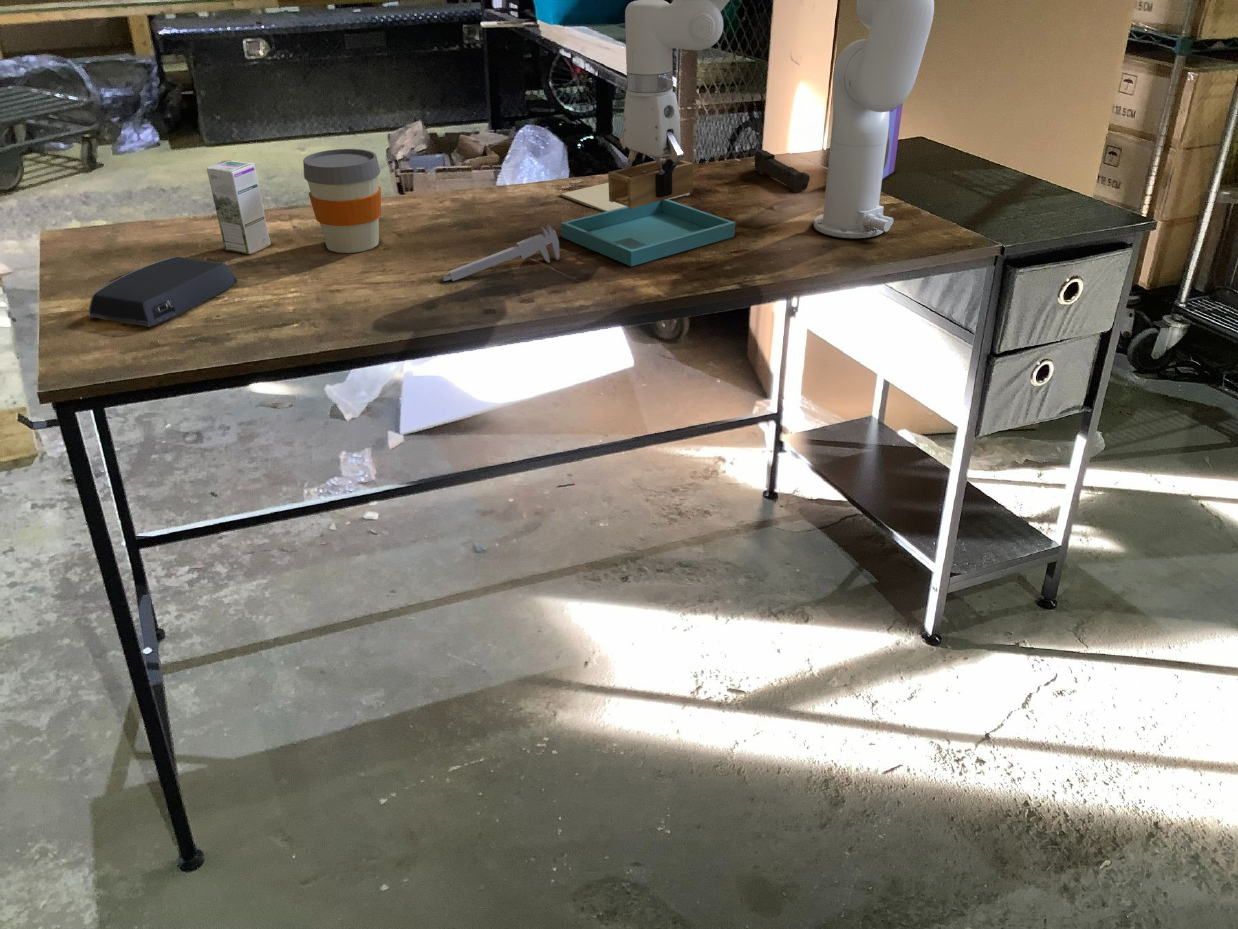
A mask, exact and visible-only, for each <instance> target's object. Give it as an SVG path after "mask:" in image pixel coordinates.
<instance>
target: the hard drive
mask: <svg viewBox="0 0 1238 929" xmlns="http://www.w3.org/2000/svg"><path fill="white" fill-rule="evenodd" d="M238 281H239V280H238V279H237V277H236V275H235V274H234V273H233V271H232V270H231V268H230V267H229V266H228V265H227V264H226V263H223V262H215V261H208V260H201V259H196V258H195V259H194V258H189V257H182V256H177V255H176V256H172V257H167V258H165V259H162V260H159V261H156V262H153V263H149V264H148V265H145V266H142V267H140V268H138V269H135V270H133V271H131V272H128V273H126V274H124V275H122V276H121V277H119V278H117V279H114V280H113V281H111V282H109V283H108V284H106V285H104V286H103V287H101V288H99V289H98V290H97V291H95V292H94V293H93V294H92V296H91V298H90V302H89V308H88V317H90V318H95V319H100V320H106V321H113V322H119V323H124V324H129V325H135V326H140V327H146V328H151V327H154V326H157V325H159V324H162V323H163V322H166V321H168V320H171V319H172V318H174V317H177V316H180V315H181V314H183V313H185V312H187V311H190V310H192V309H193V308H196V307H198V306H199V305H201V304H203V303H205V302H207V301H208V300H210V299H212V298H214V297H215V296H218V295H220V294H221V293H223V292H225V291H226V290H228V289H229V288H231V287H232V286H235V285H236V284H237V283H238Z"/></svg>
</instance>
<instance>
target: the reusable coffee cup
mask: <svg viewBox="0 0 1238 929" xmlns="http://www.w3.org/2000/svg"><path fill="white" fill-rule="evenodd" d="M302 165H303V178H304V180H305V181H307V184H308V188H309V193H308V196H309V200H310V203H311V204H310V205H311V208H312V209H313V214H314V218H315V220H316V221H317V222H318V223H319V226H320V229H321V233H322V236H323V239H324V242H325V246H326V249H328V250H329V251H331V252H335V253H342V254H352V253H360V252H365V251H368V250H372V249H374V248H375V247H377V246H378V245H379V243H380V242H379V241H380V240H379V239H380V237H379V233H380V232H379V230H380V229H379V228H380V227H379V225H380V224H379V221H380V220H379V219H380V217H381V215H382V189H381V186H379V176H380V174H381V170H380V169H381V168H380V165H379V161H378V156H377V154H376V153H375V152H374V151H371V150H368V149H360V148H337V149H336V148H335V149H328V150H322V151H319V152H318V151H317V152H313V153H311V154H308V155H307V156H305V157H304V158H303V161H302Z"/></svg>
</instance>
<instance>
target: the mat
mask: <svg viewBox="0 0 1238 929" xmlns="http://www.w3.org/2000/svg"><path fill="white" fill-rule="evenodd" d="M690 194H691V192H690V193H687V194H683V195H680V196H676V197H672V198H669V199H668V200H672V199H677V198H680V197H684V196H690ZM560 196H561V197H563V198H565V199H568V200H570V201H573V202H576V203H578V204H582V205H584V206H587V207H589V208H594V209H595V210H598V211H602V212H607V211H611V210H615V209H619V208H623V207H627V206H625V205H622V204H619V203H616V202H610V201H609V182H605V183H601V184H596V185H592V186H587V187H584V188H579V189H576V190H570V191H566V192H561V193H560Z"/></svg>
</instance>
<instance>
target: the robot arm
mask: <svg viewBox="0 0 1238 929" xmlns="http://www.w3.org/2000/svg"><path fill="white" fill-rule="evenodd" d="M730 1H731V0H672V1H671V3H669V2H668V1H667V0H633V1H631V2H629V3H628V4H627V6H626V7H625V10H624V13H625V14H624V25H625V26H624V28H625V30H624V31H625V32H624V33H625V62H626V63H625V64H626V68H625V69H626V91H625V96H624V108H623V132H622V134H621V136H620V138H619V143H620V145H621V147H622V148H623V150H624V154H625V156H626V158H627V165H628V166H629V167H632V166H636V165H640V164H644V163H645V159H646V155H647V156H651V157H653V158H654V161H656V165H657V169H658V174H656V197H658V198H661V197H664V196H668V195H671V194H672V172H674V171H675V167H676V166H678V162H679V161H680V160H683V158H684V151H683V150H682V148H681V146H682V145H681V142H682V140H681V123H680V122H681V121H680V120H681V119H680V112H679V104H678V99H677V95H676V92H674V90H673V89H674V88H673V87H674V80H673V76H674V75H673V74H674V73H673V72H674V71H673V64H674V63H673V49H676V50H677V49H679V50H687V51H704V50H707V49H710V48H711V47H713V46H714V45H715V44H716V43H717V42H718V41H719V40H720V38H721V36H722V35H723V32H724V31H723V30H724V17H723V14H722V11H723V9H725V7H726V6H727V5H728V3H729V2H730ZM855 5H856V6H855V11H856V16H857V18H858V20H859V22H860V23H861V24H862V25H863V26H864V27H865V28H867V29H868V35H867V38H862V39H856V40H855V41H852V42H851V43H849V44H848V45H846V46H845V47H844V48H843V49H842V50H841V52H840V53H839V55H838V57H837V58H836V61H835V63H834V67H833V72H832V121H831V122H832V123H831V133H830V140H829V141H830V143H829V150H828V151H829V153H828V162H827V163H828V164H827V173H826V182H825V183H826V184H825V194H824V204H823V213H822V214H819V215H817V216H816V217H815V218H814V220H813V227H814V229H815V230H816V231H818V232H819V233H820V234H824V235H825V236H830V237H834V238H840V239H841V238H842V239H867V238H873V237H877V236H879V235H881V234H883V233H887V232H888V231H890V229H891V227H892V225H893V224H894V221H895V220H894V217H890V216H887V215H884V209H885V206H884V205H880V200H881V191H882V184H883V180H882V176H883V168H884V160H885V152H886V144H887V138H888V129H889V111H891V110H893V109H895V108H897V107H898V106H900V105H901V104H902V103H903V104H904V102H905V101H906V100H907V99H908V97H909V95H910V94H911V92H912V90H913V88H914V86H915V83H916V80H917V77H918V73H919V70H920V67H921V64H922V60H923V56H924V53H925V50H926V46H927V43H928V40H929V37H930V32H931V29H932V26H933V20H934V14H935V0H856V4H855ZM664 158H665V159H666V162H665V163H664V165H663V161H662V159H664Z"/></svg>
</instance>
